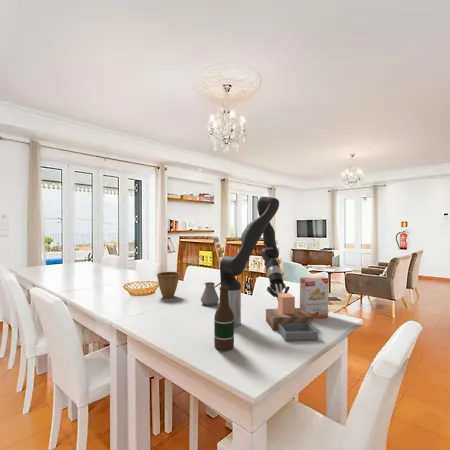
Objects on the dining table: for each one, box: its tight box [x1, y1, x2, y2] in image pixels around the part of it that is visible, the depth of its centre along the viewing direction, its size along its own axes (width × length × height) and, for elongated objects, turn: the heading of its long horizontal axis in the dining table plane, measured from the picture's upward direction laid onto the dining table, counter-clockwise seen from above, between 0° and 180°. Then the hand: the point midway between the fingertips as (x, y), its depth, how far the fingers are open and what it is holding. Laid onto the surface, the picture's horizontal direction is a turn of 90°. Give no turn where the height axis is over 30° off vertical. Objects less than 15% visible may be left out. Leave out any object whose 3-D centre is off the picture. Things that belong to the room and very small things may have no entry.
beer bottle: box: [213, 285, 235, 352], centre depth 113 cm, size 8×8×24 cm
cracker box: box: [299, 276, 330, 320], centre depth 152 cm, size 14×6×21 cm, turn 105°
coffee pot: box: [200, 281, 222, 306], centre depth 180 cm, size 21×12×15 cm, turn 125°
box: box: [277, 323, 319, 342], centre depth 125 cm, size 14×12×4 cm
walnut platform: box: [265, 307, 312, 332], centre depth 139 cm, size 18×14×6 cm
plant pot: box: [156, 271, 180, 299], centre depth 195 cm, size 15×15×16 cm
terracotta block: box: [277, 292, 296, 314], centre depth 141 cm, size 6×8×8 cm
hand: (281, 303), depth 149 cm, fingers closed
